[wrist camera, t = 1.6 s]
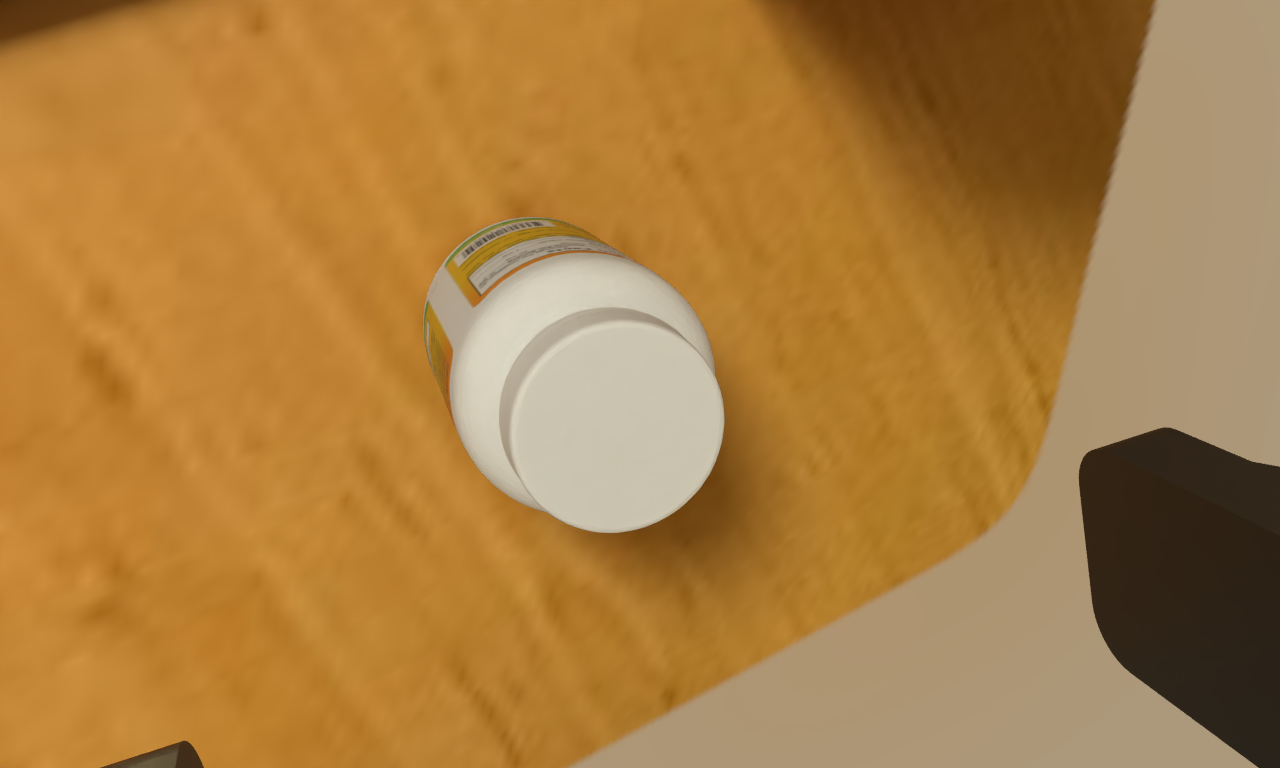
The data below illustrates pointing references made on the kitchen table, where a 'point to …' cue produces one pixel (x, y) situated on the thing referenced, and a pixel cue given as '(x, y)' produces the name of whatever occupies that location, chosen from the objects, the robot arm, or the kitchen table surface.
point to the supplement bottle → (573, 375)
